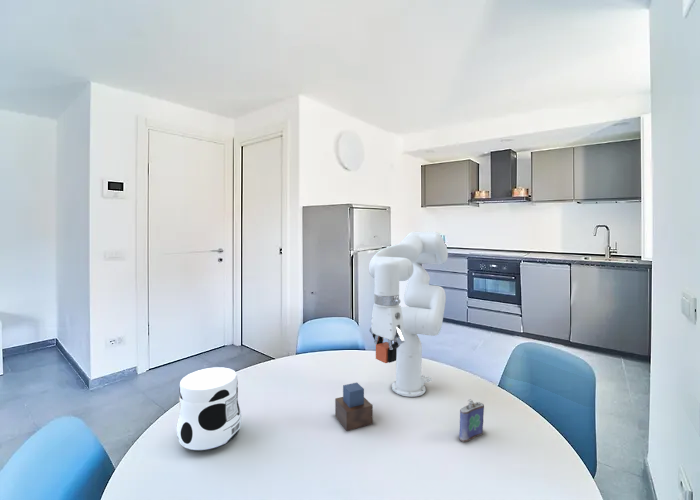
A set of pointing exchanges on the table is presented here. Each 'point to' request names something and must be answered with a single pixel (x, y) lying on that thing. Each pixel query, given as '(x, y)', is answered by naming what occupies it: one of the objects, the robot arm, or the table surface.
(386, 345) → the terracotta cube
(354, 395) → the blue cube
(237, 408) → the milk container
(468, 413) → the flask
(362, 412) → the walnut base
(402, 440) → the table surface
